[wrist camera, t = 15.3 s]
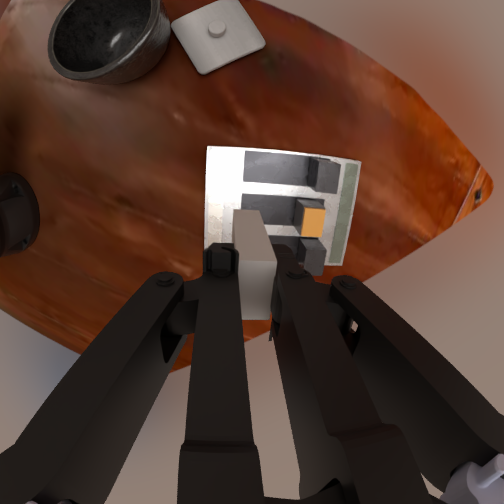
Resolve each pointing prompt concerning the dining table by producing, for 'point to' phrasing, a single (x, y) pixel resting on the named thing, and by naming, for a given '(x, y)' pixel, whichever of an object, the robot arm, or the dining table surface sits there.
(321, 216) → the block
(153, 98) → the dining table surface
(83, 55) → the planter
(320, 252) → the panel
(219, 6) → the light switch
